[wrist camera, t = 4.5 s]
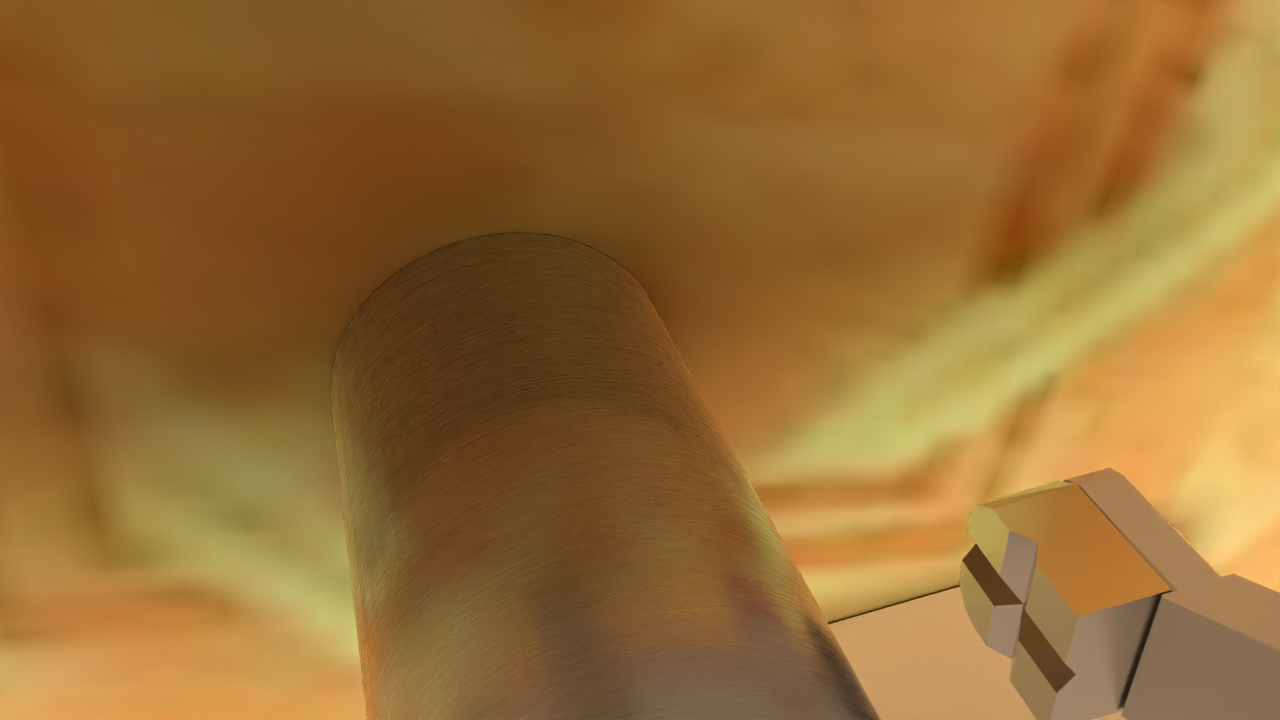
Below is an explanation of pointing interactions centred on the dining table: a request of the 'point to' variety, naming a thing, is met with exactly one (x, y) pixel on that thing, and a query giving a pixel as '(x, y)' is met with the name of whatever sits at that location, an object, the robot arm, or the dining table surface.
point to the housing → (932, 663)
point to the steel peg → (558, 508)
